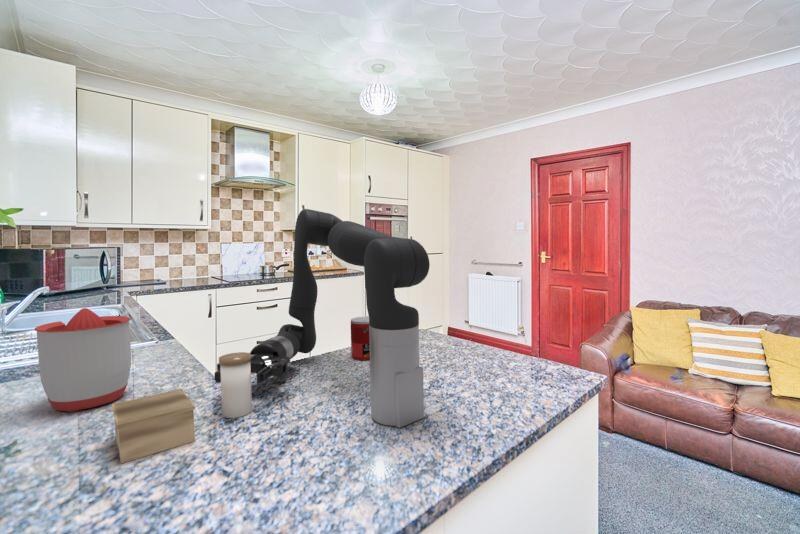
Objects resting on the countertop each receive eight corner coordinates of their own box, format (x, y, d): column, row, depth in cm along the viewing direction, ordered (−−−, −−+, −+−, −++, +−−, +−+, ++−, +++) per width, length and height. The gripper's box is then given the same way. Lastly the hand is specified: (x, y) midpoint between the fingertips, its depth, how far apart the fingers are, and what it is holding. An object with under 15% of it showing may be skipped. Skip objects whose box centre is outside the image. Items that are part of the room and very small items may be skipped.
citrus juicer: (120, 381, 94) (115, 300, 93) (145, 398, 83) (140, 306, 82) (32, 402, 82) (25, 309, 81) (48, 425, 71) (40, 317, 70)
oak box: (196, 441, 64) (194, 405, 64) (119, 464, 57) (117, 425, 57) (183, 420, 72) (181, 388, 72) (114, 438, 65) (112, 404, 65)
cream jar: (257, 412, 75) (255, 356, 74) (226, 421, 71) (223, 362, 71) (247, 403, 79) (245, 350, 79) (217, 411, 75) (215, 356, 75)
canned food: (366, 362, 106) (365, 322, 105) (345, 357, 111) (344, 319, 110) (383, 355, 112) (383, 318, 112) (363, 351, 117) (362, 315, 116)
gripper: (243, 339, 92) (202, 359, 76) (300, 339, 91) (272, 359, 74) (244, 370, 92) (203, 396, 76) (301, 370, 91) (273, 397, 75)
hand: (237, 378), depth 75 cm, fingers open, 8 cm apart
